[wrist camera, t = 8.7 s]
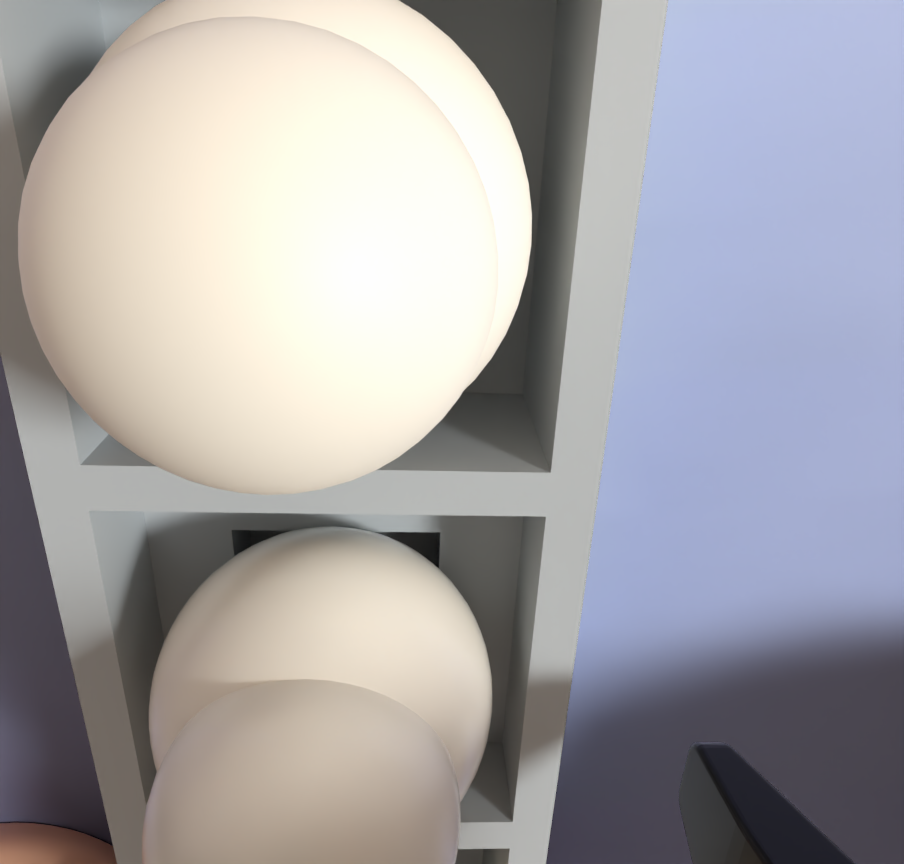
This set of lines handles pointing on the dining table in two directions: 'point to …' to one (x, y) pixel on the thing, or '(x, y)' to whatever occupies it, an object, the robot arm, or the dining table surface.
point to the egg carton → (321, 323)
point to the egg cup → (51, 846)
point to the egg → (317, 708)
